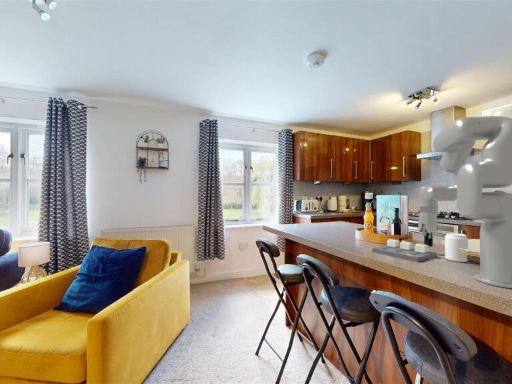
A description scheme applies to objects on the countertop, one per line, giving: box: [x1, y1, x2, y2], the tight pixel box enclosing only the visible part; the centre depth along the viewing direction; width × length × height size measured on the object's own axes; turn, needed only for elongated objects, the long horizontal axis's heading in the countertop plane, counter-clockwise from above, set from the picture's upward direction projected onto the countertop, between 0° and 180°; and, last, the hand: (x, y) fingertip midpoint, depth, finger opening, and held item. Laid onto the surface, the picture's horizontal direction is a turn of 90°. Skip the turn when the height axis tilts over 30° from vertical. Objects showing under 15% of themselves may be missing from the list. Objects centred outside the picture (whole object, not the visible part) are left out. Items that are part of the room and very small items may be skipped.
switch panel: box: [371, 244, 437, 263], centre depth 123 cm, size 22×18×2 cm
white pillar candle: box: [444, 232, 469, 263], centre depth 111 cm, size 8×8×12 cm
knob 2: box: [399, 240, 414, 250], centre depth 125 cm, size 4×4×4 cm
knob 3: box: [414, 242, 430, 253], centre depth 119 cm, size 4×4×4 cm
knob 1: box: [386, 238, 400, 247], centre depth 131 cm, size 4×4×4 cm
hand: (428, 245), depth 123 cm, fingers closed
